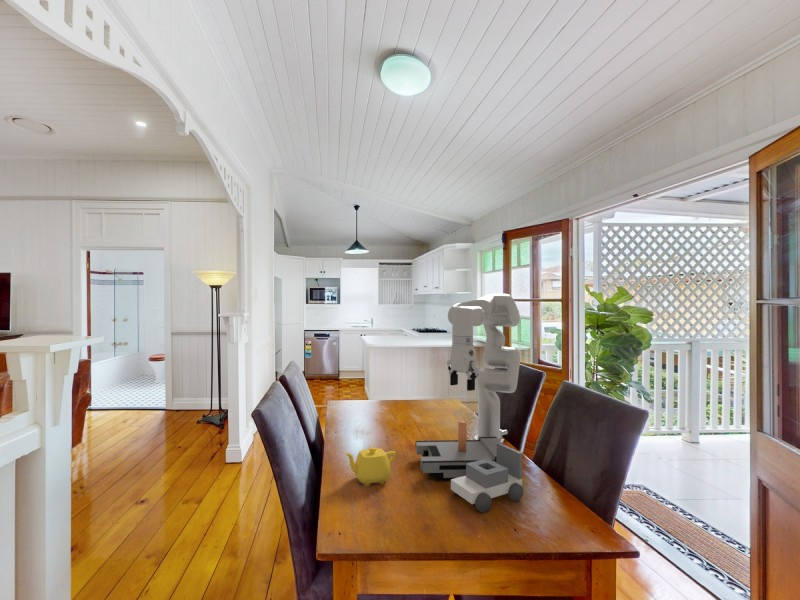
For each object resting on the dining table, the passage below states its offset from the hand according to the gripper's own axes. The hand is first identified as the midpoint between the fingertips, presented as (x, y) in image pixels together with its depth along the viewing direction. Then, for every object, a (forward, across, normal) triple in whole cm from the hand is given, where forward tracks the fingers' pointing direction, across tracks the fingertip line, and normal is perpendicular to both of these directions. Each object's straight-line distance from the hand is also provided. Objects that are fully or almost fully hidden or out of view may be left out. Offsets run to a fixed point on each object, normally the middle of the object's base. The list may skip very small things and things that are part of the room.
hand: (462, 387), depth 138 cm
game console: (+30, 0, 0) cm, 30 cm away
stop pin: (+22, 0, 0) cm, 23 cm away
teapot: (+29, +7, +34) cm, 45 cm away
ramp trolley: (+29, -20, +7) cm, 36 cm away
